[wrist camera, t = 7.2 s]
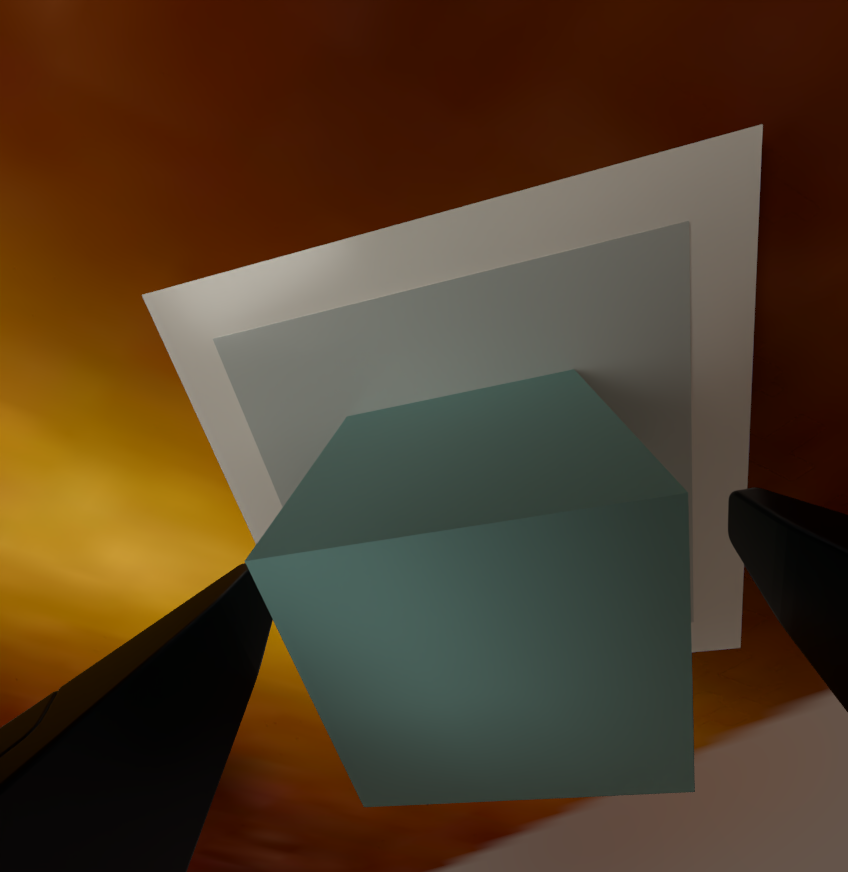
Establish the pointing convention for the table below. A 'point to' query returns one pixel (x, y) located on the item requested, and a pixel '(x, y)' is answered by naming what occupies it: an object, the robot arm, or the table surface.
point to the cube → (490, 599)
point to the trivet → (505, 332)
